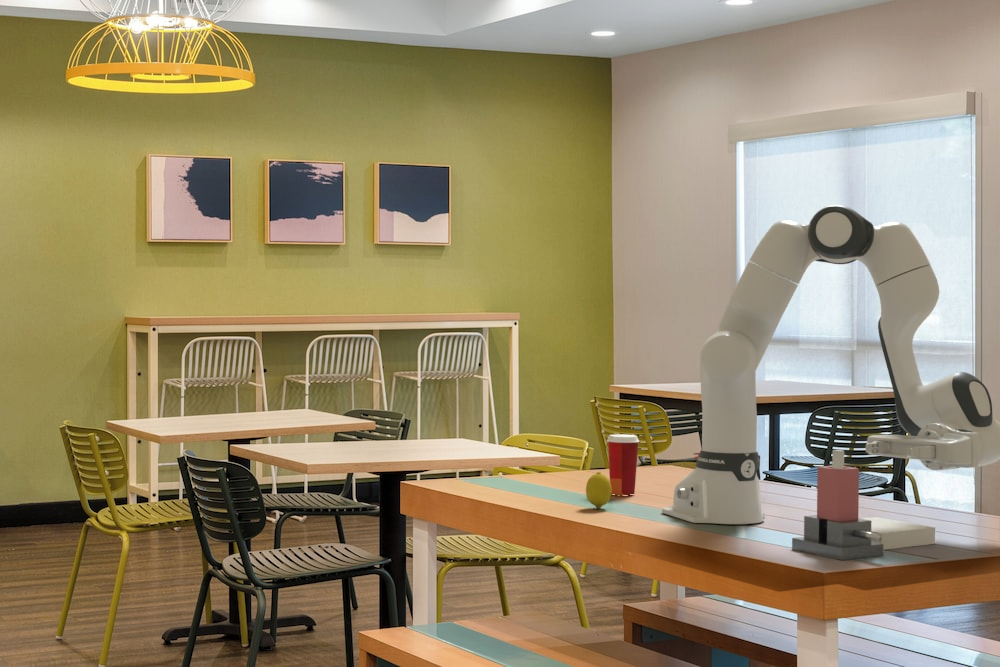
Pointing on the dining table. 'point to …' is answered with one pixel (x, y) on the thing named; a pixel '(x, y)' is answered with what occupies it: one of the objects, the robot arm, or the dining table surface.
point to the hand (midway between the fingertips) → (888, 450)
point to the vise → (838, 533)
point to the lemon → (598, 490)
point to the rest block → (901, 533)
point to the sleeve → (837, 493)
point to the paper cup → (622, 463)
